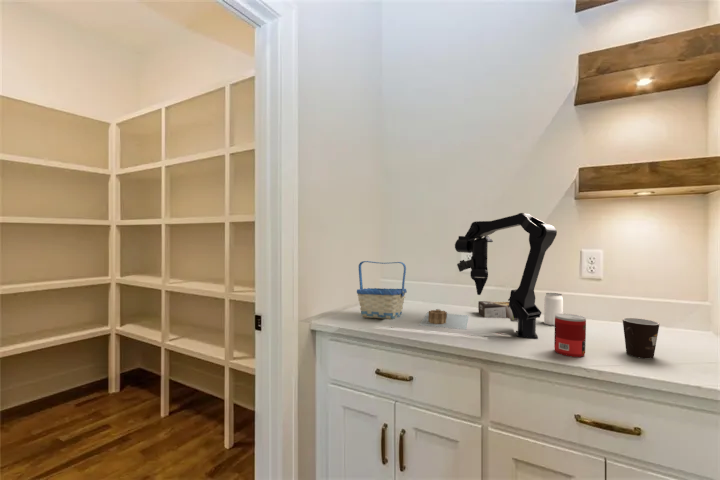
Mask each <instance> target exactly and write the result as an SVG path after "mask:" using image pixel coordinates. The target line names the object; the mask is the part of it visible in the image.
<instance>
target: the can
mask: <svg viewBox="0 0 720 480" xmlns="http://www.w3.org/2000/svg"><path fill="white" fill-rule="evenodd" d="M543 312H544V313H543V315H544V316H543V323H544V324H545V325H546V326H547V325H548V326H551V325H552V326H551V327H555V315H556V314H564V298H563V294H562V293H556V292H545V296H544V311H543Z"/></svg>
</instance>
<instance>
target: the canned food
mask: <svg viewBox="0 0 720 480" xmlns="http://www.w3.org/2000/svg"><path fill="white" fill-rule="evenodd" d="M586 333H587V318H586V317H585V316H583V315H578V314H572V313H563V314H556V315H555V326H554V342H553V343H554V346H553V348H554V351H555V353H557V354H559V355H561V354H562V355H561V356H565V355H566V357H570V356H572V358H581V356H582V357H584V356H585V354H586V336H587V334H586Z"/></svg>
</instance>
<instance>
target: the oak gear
mask: <svg viewBox="0 0 720 480" xmlns="http://www.w3.org/2000/svg"><path fill="white" fill-rule="evenodd" d="M440 310H441V309H440ZM440 310H436V309H433V310H432V309H431V310H428V312H429V321H428V322H430V323H434V324H444V323H446V312H447V311H446V310H441V311H440ZM445 311H446V312H445Z"/></svg>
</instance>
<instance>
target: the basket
mask: <svg viewBox="0 0 720 480" xmlns="http://www.w3.org/2000/svg"><path fill="white" fill-rule="evenodd" d="M364 263H371V264H384V265H386V264H387V265H388V264H390V262H378V261H369V260H364V261H360V262H359V264H358V277H359V278H358V279H359V281H358V282H359V289H356V294H357V297H358V302H359V306H360V307H359V309H360V314H361V318H368V319H369V318H371V319H380V320H381V319H384V320H385V319H388V320H393V319H396V318H399V317H401V316H402V313H403V312H402V310H403V306H404V303H405V302H404V301H405V299H406V293H407V288H405V281H406V280H405V279H406V273H407V267H406V264H405V263H404V262H402V261H397V262H395V261H394V262H391V264H401V265H402V266H403V274H402V283H401V288H376V287H374V288H369V287H368V288H363V276H362V265H363V264H364Z"/></svg>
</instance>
